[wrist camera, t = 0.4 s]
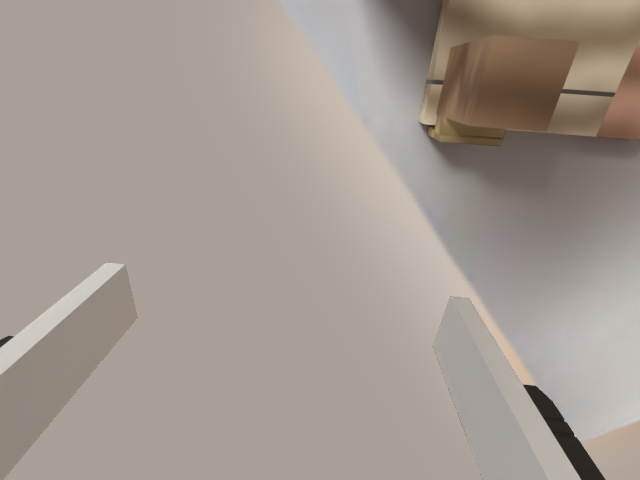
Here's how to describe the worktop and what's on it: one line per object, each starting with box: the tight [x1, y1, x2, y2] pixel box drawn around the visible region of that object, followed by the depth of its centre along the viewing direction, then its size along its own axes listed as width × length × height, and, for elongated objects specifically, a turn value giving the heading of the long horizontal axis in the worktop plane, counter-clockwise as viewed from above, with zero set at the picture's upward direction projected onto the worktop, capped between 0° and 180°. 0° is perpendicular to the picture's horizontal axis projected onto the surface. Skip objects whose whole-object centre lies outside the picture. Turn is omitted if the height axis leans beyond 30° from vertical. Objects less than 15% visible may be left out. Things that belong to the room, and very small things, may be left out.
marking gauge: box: [427, 35, 581, 146], centre depth 28 cm, size 8×6×11 cm
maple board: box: [419, 0, 640, 140], centre depth 31 cm, size 14×24×2 cm, turn 86°
